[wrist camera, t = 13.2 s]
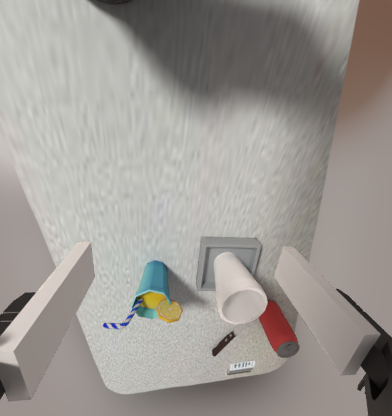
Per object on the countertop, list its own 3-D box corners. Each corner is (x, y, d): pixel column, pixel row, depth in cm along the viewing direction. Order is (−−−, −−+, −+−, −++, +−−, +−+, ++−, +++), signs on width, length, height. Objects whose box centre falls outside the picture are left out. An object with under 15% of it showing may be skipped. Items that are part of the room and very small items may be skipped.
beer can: (280, 300, 57) (306, 342, 46) (271, 317, 60) (294, 360, 49) (260, 298, 56) (282, 340, 45) (252, 314, 58) (270, 358, 47)
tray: (201, 236, 46) (203, 243, 44) (256, 238, 48) (261, 244, 45) (195, 282, 51) (197, 291, 49) (245, 282, 53) (249, 290, 50)
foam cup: (239, 278, 51) (260, 324, 40) (204, 277, 50) (215, 324, 38) (248, 247, 48) (273, 287, 36) (210, 245, 47) (224, 286, 35)
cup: (124, 284, 49) (105, 345, 35) (119, 258, 46) (97, 314, 32) (181, 279, 51) (183, 337, 37) (179, 254, 48) (182, 306, 34)
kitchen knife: (213, 350, 63) (214, 357, 61) (211, 349, 63) (212, 356, 61) (251, 314, 58) (253, 320, 57) (248, 312, 58) (251, 318, 56)
